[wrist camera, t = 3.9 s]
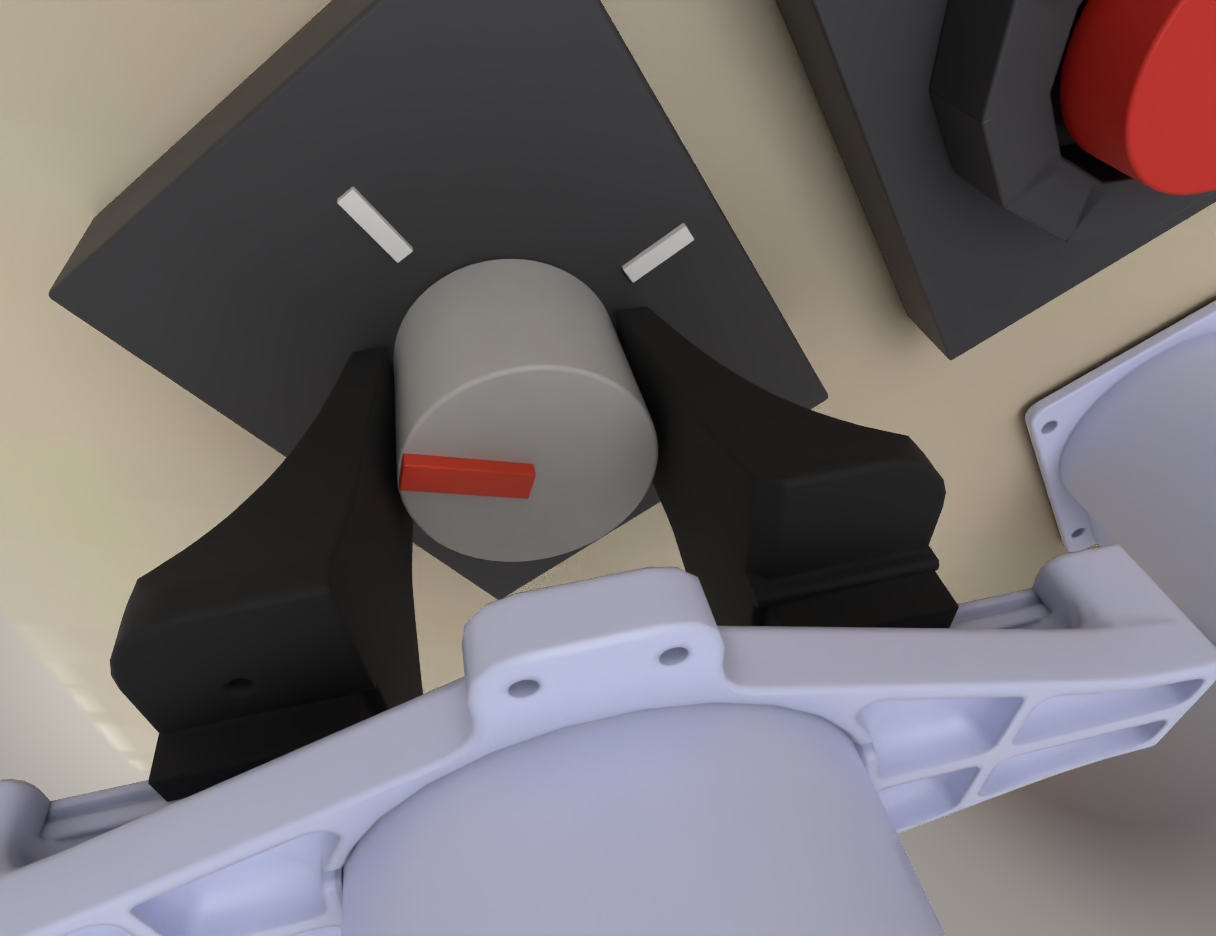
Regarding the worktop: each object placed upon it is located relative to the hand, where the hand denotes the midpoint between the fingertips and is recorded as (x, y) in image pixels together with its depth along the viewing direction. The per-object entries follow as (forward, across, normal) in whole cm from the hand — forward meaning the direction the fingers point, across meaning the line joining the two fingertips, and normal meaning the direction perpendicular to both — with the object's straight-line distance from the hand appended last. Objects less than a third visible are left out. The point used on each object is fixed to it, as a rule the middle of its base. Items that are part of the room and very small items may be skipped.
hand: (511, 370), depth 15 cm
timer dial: (0, 0, 0) cm, 0 cm away
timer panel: (+3, 0, 0) cm, 3 cm away
